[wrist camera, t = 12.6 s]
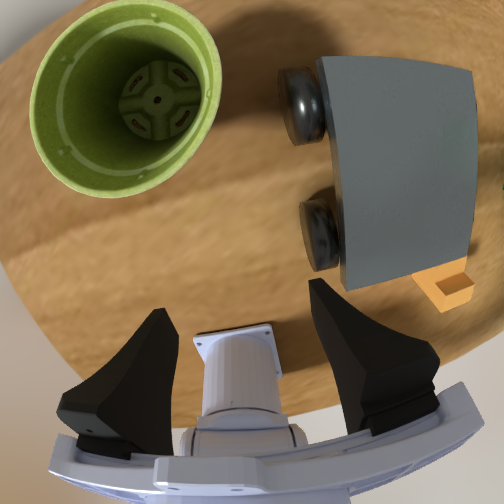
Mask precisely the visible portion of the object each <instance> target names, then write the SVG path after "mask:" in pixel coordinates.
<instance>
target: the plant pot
mask: <svg viewBox="0 0 504 504" xmlns="http://www.w3.org/2000/svg"><path fill="white" fill-rule="evenodd" d="M175 69H177V70H180V71H181V72H182V73H184V74H185V75H186V76H187V77H188V81H187V82H185V81H184V80H183V79H182V78H181V77H180V76H179V75H177V74H175V73H173V70H175ZM140 76H142V77H143V78H142V79H141V80H140V81H139V82H138V83H137V84H136V85H135V87H134V88H133V90H132V91H130V86H131V85H132V83H133V82H134V80H135V79H136V78H137V77H140ZM221 91H222V66H221V60H220V56H219V52H218V49H217V46H216V44H215V42H214V40H213V38H212V36H211V34H210V33H209V31H208V30H207V28H206V27H205V26H204V25H203V24H202V22H201V21H199V20H198V18H196V17H195V16H194V15H193V14H191V13H190V12H189V11H187V10H185V9H184V8H182V7H180V6H178V5H176V4H173V3H171V2H167V1H164V0H119V1H115V2H111V3H107V4H104V5H102V6H100V7H98V8H96V9H94V10H92V11H90V12H88V13H87V14H85V15H83V16H82V17H81V18H79V19H78V20H77V21H75V22H74V23H73V24H72V25H70V26H69V27H68V28H67V29H66V30H65V31H64V32H63V33H62V34H61V35H60V36H59V37H58V38H57V40H56V41H55V42H54V43H53V45H52V46H51V48H50V49H49V51H48V52H47V54H46V55H45V57H44V59H43V61H42V62H41V65H40V67H39V69H38V72H37V74H36V78H35V81H34V84H33V88H32V93H31V99H30V127H31V132H32V136H33V140H34V143H35V146H36V149H37V151H38V153H39V155H40V157H41V159H42V161H43V162H44V164H45V165H46V166H47V168H48V169H49V171H50V172H51V173H52V174H53V175H54V176H55V177H56V178H57V179H58V180H60V181H61V182H63V183H64V184H65V185H67V186H68V187H70V188H72V189H74V190H76V191H78V192H81V193H83V194H87V195H90V196H95V197H100V198H120V197H126V196H131V195H135V194H138V193H141V192H144V191H146V190H149V189H151V188H153V187H155V186H157V185H159V184H161V183H162V182H164V181H165V180H167V179H168V178H170V177H171V176H172V175H174V174H175V173H176V172H177V171H178V170H179V169H180V168H182V167H183V166H184V165H185V164H186V163H187V162H188V160H189V159H190V158H191V157H192V156H193V155H194V153H195V152H196V151H197V150H198V148H199V147H200V145H201V144H202V142H203V141H204V139H205V137H206V136H207V134H208V132H209V130H210V128H211V126H212V124H213V121H214V119H215V116H216V113H217V110H218V107H219V102H220V97H221ZM158 96H159V97H161V101H160V102H159V103H155V102H154V99H155V98H156V97H158ZM186 111H189V112H190V115H189V116H188V117H187V118H186V119H185V122H184V123H183V124H182V125H180V126H176V123H177V122H178V121H179V120H180V119H181V118H182V117H183V116H184V115H185V113H186ZM133 119H135V120H136V121H137V122H138V123H139V124H140V125H142V126H143V127H144V128H146V130H145V131H142V130H140V129H138V128H136V127H135V126H134V125H133V122H132V120H133Z"/></svg>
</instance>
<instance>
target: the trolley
mask: <svg viewBox="0 0 504 504" xmlns="http://www.w3.org/2000/svg"><path fill="white" fill-rule="evenodd" d="M315 63H316V68H317V73H318V77H319V82H320V87H321V91H320V88H319V85H318V82H317V80H316V78H315V76H314V74H313V72H312V71H311V70H310V69H309V68H308V67H297V68H288V69H280V70H279V73H278V91H279V98H280V104H281V109H282V114H283V118H284V122H285V126H286V129H287V132H288V135H289V137H290V139H291V141H292V143H293V144H294V145H295V146H298V145H305V144H312V143H319V142H321V141H322V140H323V137H324V133H325V115H326V121H327V127H328V134H329V141H330V148H331V156H332V164H333V172H334V182H335V191H336V202H337V215H338V229H339V239H338V233H337V228H336V224H335V220H334V217H333V214H332V212H331V209H330V207H329V205H328V204H327V202H326V201H325V200H324V199H323V198H322V199H316V200H311V201H305V202H301V203H300V209H299V211H300V222H301V229H302V235H303V240H304V244H305V248H306V252H307V256H308V259H309V262H310V264H311V267H312V269H313V270H314V272H318V271H322V270H327V269H331V268H336V267H337V266H338V264H339V258H340V274H341V283H342V284H343V286H344V288H345V290H346V291H350V290H354V289H358V288H362V287H366V286H370V285H374V284H377V283H381V282H385V281H388V280H392V279H395V278H399V277H402V276H406V275H409V274H413V273H416V272H419V271H423V270H426V269H429V268H432V267H436V266H439V265H442V264H445V263H448V262H451V261H454V260H457V259H460V258H463V257H466V256H467V252H468V247H469V242H470V236H471V230H472V224H473V221H474V209H475V200H476V189H477V173H478V126H477V104H476V99H475V91H474V84H473V77H472V71H468V70H464V69H460V68H456V67H451V66H446V65H441V64H436V63H430V62H423V61H416V60H408V59H399V58H387V57H371V56H323V57H320V58H318V59H316V60H315ZM321 93H322V94H321ZM324 109H325V110H324ZM339 247H340V248H339Z"/></svg>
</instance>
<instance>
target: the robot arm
mask: <svg viewBox="0 0 504 504" xmlns="http://www.w3.org/2000/svg"><path fill="white" fill-rule="evenodd" d="M308 282H309V292H310V302H311V312H312V316H313V320H314V323H315V327H316V330H317V332H318V335H319V337H320V340H321V342H322V345H323V347H324V350H325V352H326V354H327V357H328V359H329V362H330V364H331V367H332V370H333V373H334V377H335V381H336V384H337V388H338V392H339V396H340V400H341V404H342V409H343V413H344V418H345V422H346V428H347V432H348V435H346V436H343V437H339V438H335V439H331V440H328V441H323V442H319V443H314V444H310V445H308V441H307V438H306V435H305V433H304V431H303V430H302V429H301V428H300V427H298V425H297V424H288V417H287V414H282V407H281V401H280V394H279V387H278V380H277V379H281V378H282V377H283V375H282V370H281V366H280V362H279V357H278V353H277V348H276V344H275V339H274V335H273V330H272V326H271V325H270V324H262V325H256V326H251V327H245V328H240V329H234V330H228V331H222V332H215V333H209V334H202V335H196V336H194V337H193V342H194V344H195V346H196V348H197V350H198V352H199V354H200V355H201V357H202V359H203V361H204V363H205V373H204V387H203V403H202V416H198V417H197V427H189V428H188V429H187V431H185V432H184V433H183V435H182V437H181V440H180V446H179V456H174V453H173V445H172V432H171V395H172V387H173V381H174V375H175V369H176V363H177V358H178V348H179V335H178V333H177V331H176V329H175V327H174V325H173V323H172V322H171V320H170V318H169V316H168V314H167V312H166V310H165V308H159V309H154V310H153V311H152V312H151V313H150V315H149V316H148V317H147V318H146V319H145V321H144V322H143V323H142V325H141V326H140V327H139V328H138V330H137V331H136V332H135V333H134V335H133V336H132V337H131V338H130V339H129V340H128V342H127V343H126V344H125V345H124V346H123V347H122V349H121V350H120V351H119V352H118V353H117V354H116V355H115V356H114V357H113V358H112V359H111V360H110V361H109V362H108V363H107V364H106V365H104V366H103V367H102V368H101V369H100V370H98V371H97V372H96V373H95V374H93V375H92V376H91V377H89V378H88V379H87V380H85V381H84V382H82V383H81V384H79V385H77V386H76V387H74V388H72V389H70V390H68V391H67V392H65V393H63V395H62V398H61V401H60V403H59V406H58V409H57V411H56V413H57V415H58V417H59V418H60V420H62V421H63V422H64V423H65V424H66V425H67V426H69V427H70V428H71V429H72V430H74V431H75V432H76V433H78V434H79V436H78V439H76V438H74V437H71V436H68V435H64V434H60V433H59V434H58V436H57V439H56V442H55V445H54V449H53V453H52V456H51V460H50V464H49V468H48V471H49V472H51V473H53V474H54V475H56V476H58V477H60V478H61V479H63V480H66V481H67V482H69V483H71V484H73V485H75V486H77V487H80V488H82V489H86V490H88V491H91V492H95V493H98V494H101V495H104V496H107V497H111V498H115V499H118V500H122V501H126V502H130V503H135V504H351V502H350V497H351V496H354V495H357V494H360V493H363V492H366V491H369V490H371V489H374V488H377V487H379V486H382V485H385V484H387V483H389V482H392V481H394V480H397V479H399V478H401V477H403V476H406V475H408V474H410V473H412V472H414V471H416V470H418V469H420V468H422V467H424V466H426V465H428V464H430V463H432V462H434V461H435V460H437V459H439V458H441V457H443V456H445V455H446V454H448V453H450V452H452V451H453V450H455V449H457V448H458V447H460V446H461V445H463V444H464V443H465V442H466V441H467V440H468V439H470V438H471V437H472V436H473V435H474V434H475V433H476V432H477V431H478V430H479V429H480V428H481V427H482V426H484V421H483V419H482V417H481V415H480V413H479V411H478V409H477V407H476V405H475V403H474V401H473V399H472V398H471V396H470V394H469V392H468V390H467V389H466V387H465V385H464V383H463V382H459V383H457V384H455V385H453V386H451V387H450V388H448V389H446V390H444V391H442V392H441V393H439V394H438V395H437V396H436V395H435V393H434V390H435V386H434V384H433V382H432V380H433V378H434V376H435V374H436V372H437V370H438V368H439V365H440V358H439V357H438V355H437V354H436V352H435V350H434V349H433V348H432V346H431V345H430V344H429V343H428V342H427V341H424V340H420V339H417V338H413V337H410V336H407V335H404V334H401V333H399V332H396V331H394V330H392V329H390V328H387V327H385V326H383V325H381V324H379V323H377V322H376V321H374V320H372V319H371V318H369V317H367V316H366V315H364V314H363V313H361V312H360V311H359V310H357V309H356V308H355V307H353V306H352V305H351V304H349V303H348V302H347V301H346V300H345V299H343V298H342V297H341V296H340V295H339V294H338V293H337V292H335V291H334V290H333V289H332V288H331V287H330V286H329V285H328V284H327V283H326V282H325V281H324V280H323V279H322V278H317V279H312V280H308ZM267 331H269V332H267Z"/></svg>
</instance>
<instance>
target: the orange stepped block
mask: <svg viewBox="0 0 504 504" xmlns="http://www.w3.org/2000/svg"><path fill="white" fill-rule="evenodd" d="M466 260H467V256H466V257H463V258H460V259H457V260H454V261H451V262H448V263H445V264H442V265H439V266H436V267H432V268H429V269H426V270H423V271H419V272H416V273H413V274H412V278H413V279H414V280H415V282H416V283H417V284H418V285H419V286H420V287H421V289H422V290H423V291H424V292H425V294H426V295H427V296H428V297H429V298H430V300H431V301H432V302H433V303H434V305H435V306H436V307H437V308H438V310H439V311H440V312H441V313H442V312H445V311H447V310H450V309H452V308H454V307H457V306H459V305H461V304H464V303H466V302H468V301H470V299H471V296H472V293H473V289H474V286H475V284H474V283H473V282H472V281H471V280H470V279H469V278H468V277H467V276H466V275H465V274H464V269H465V264H466Z"/></svg>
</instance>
